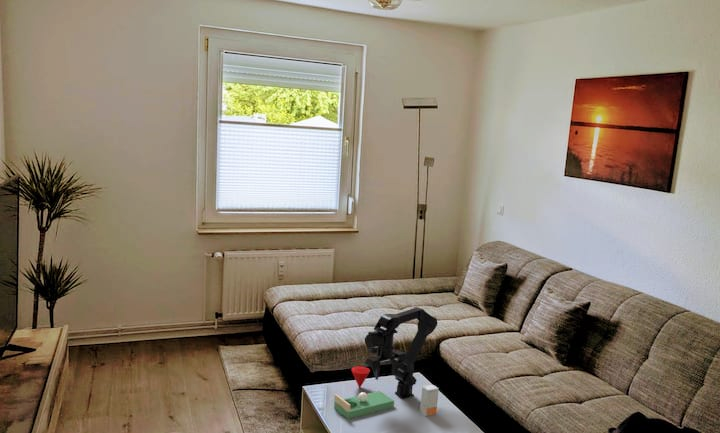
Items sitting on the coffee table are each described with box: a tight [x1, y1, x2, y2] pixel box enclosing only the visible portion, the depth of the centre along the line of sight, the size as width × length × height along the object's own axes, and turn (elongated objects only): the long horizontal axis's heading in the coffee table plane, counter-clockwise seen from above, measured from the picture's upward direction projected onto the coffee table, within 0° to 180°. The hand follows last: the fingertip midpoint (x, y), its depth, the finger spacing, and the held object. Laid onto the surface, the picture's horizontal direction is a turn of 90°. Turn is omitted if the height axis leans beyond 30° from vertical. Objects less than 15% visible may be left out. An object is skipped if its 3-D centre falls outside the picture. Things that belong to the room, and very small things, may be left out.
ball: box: [357, 391, 368, 402], centre depth 244 cm, size 4×4×4 cm
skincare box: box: [419, 384, 440, 417], centre depth 243 cm, size 6×4×12 cm
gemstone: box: [350, 365, 371, 388], centre depth 264 cm, size 9×9×10 cm
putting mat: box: [333, 390, 395, 420], centre depth 245 cm, size 24×11×6 cm, turn 124°
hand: (384, 377), depth 250 cm, fingers open, 9 cm apart
